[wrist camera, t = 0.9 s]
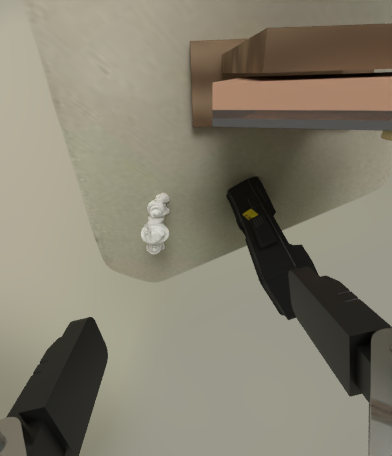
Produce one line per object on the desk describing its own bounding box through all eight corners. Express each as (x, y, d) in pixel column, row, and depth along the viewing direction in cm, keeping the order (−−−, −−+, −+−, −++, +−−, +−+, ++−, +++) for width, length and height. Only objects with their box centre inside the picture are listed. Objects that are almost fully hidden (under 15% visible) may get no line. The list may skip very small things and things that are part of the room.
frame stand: (190, 42, 32) (189, -8, 12) (376, 35, 32) (679, -26, 12) (192, 125, 38) (195, 184, 18) (353, 119, 38) (539, 171, 18)
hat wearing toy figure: (151, 179, 42) (138, 213, 32) (174, 181, 42) (169, 216, 32) (149, 225, 47) (138, 268, 36) (171, 227, 47) (165, 270, 37)
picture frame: (246, 76, 28) (212, 82, 15) (496, 68, 22) (786, 68, 9) (244, 107, 30) (212, 136, 17) (477, 107, 24) (701, 151, 11)
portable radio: (221, 186, 43) (251, 299, 22) (253, 169, 41) (320, 270, 20) (241, 220, 46) (283, 345, 25) (271, 205, 45) (344, 325, 24)
